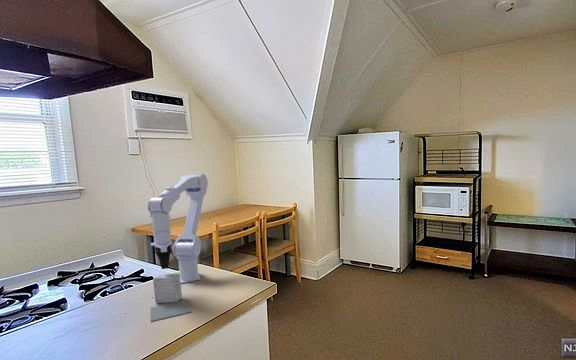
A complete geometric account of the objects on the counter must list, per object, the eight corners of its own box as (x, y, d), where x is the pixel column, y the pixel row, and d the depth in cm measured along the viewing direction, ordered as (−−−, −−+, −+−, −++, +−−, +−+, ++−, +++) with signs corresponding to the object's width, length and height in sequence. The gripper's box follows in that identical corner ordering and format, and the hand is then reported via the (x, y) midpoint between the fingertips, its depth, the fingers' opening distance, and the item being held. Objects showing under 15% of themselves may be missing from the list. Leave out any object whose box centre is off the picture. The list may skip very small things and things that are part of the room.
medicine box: (182, 297, 116) (180, 273, 116) (176, 302, 112) (174, 277, 112) (161, 298, 117) (159, 274, 117) (155, 303, 113) (152, 278, 112)
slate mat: (150, 308, 109) (150, 307, 109) (187, 300, 114) (187, 299, 114) (150, 321, 100) (150, 320, 100) (191, 312, 105) (191, 311, 105)
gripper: (149, 228, 124) (152, 263, 124) (149, 235, 110) (153, 275, 111) (169, 225, 126) (172, 260, 127) (172, 232, 113) (175, 271, 114)
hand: (164, 266), depth 119 cm, fingers open, 3 cm apart
